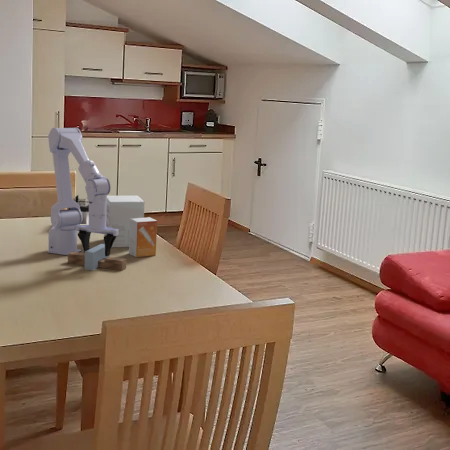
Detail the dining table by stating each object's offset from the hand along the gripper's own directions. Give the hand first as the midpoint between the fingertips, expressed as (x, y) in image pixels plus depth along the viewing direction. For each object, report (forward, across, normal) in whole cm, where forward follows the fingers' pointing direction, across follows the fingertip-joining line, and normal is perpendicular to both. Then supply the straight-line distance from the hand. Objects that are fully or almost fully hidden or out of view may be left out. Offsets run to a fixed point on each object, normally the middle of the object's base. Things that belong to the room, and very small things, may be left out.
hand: (96, 254), depth 216 cm
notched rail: (+4, 0, 0) cm, 4 cm away
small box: (+4, +8, +20) cm, 22 cm away
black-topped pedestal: (+5, -32, +48) cm, 57 cm away
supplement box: (+4, -5, +32) cm, 33 cm away
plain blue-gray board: (+4, 0, 0) cm, 4 cm away
